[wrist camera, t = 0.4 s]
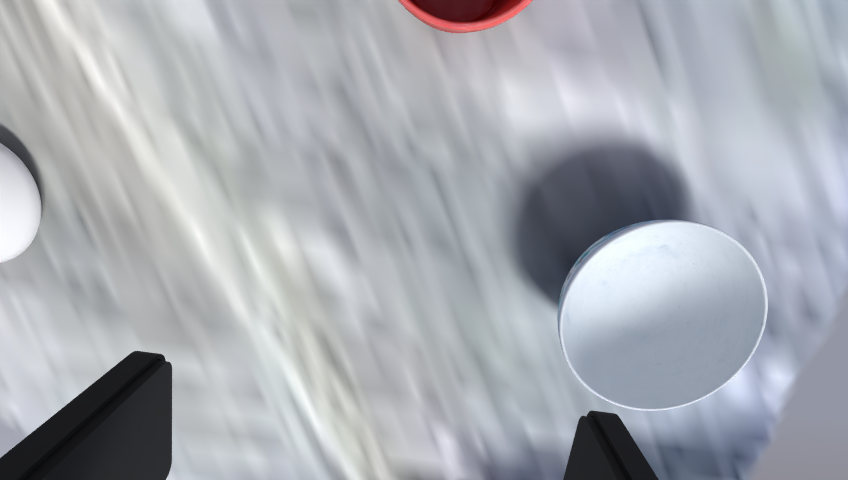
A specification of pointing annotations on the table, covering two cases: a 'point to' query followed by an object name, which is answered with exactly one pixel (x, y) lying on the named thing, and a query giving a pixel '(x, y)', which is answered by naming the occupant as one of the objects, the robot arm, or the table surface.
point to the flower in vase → (17, 206)
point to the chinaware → (661, 314)
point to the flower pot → (464, 13)
